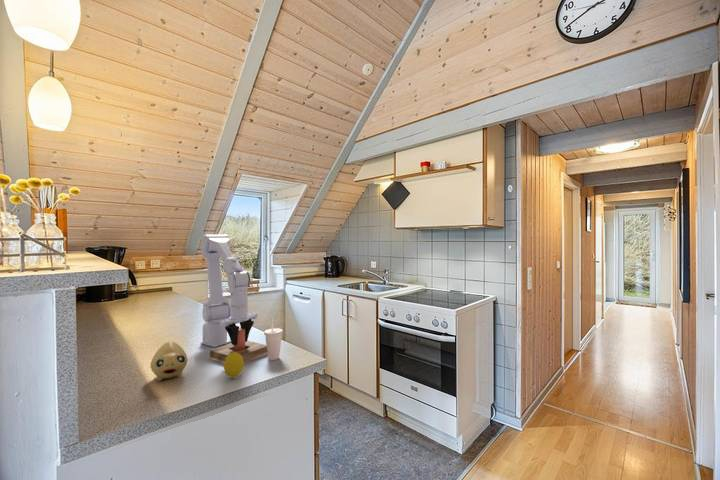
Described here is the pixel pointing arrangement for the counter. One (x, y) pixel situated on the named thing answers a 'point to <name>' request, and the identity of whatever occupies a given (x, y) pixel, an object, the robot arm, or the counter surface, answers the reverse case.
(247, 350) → the socket block
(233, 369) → the lemon
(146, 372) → the counter surface
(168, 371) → the cream rounded figure
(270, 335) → the smoothie
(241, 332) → the reddish brown tall block
